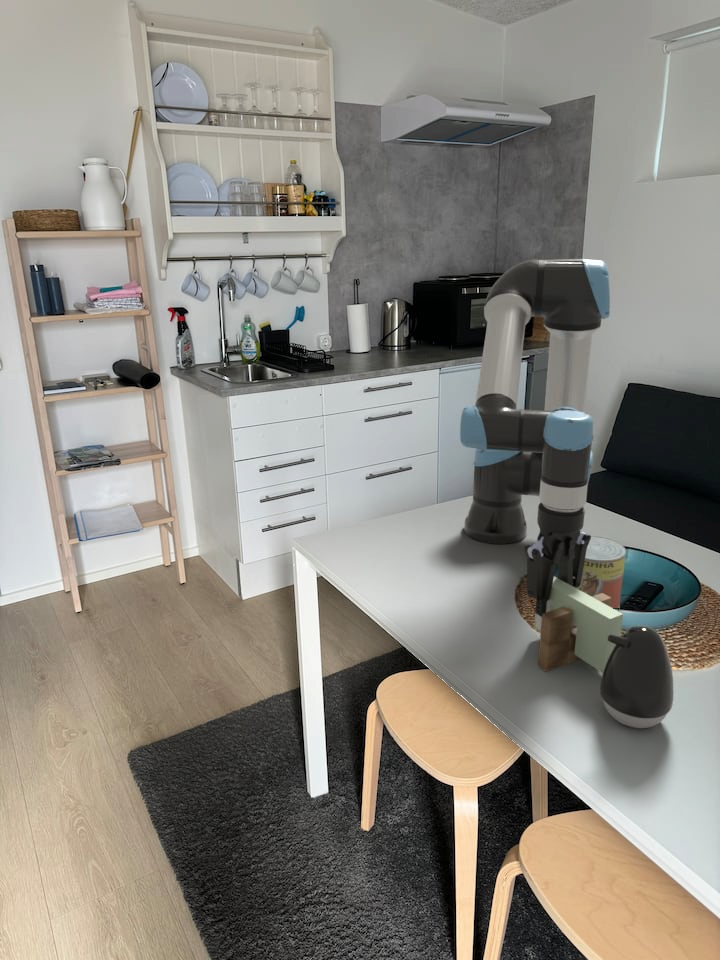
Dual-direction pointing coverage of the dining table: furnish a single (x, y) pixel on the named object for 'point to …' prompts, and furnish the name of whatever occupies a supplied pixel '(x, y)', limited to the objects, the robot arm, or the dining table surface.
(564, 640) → the brown u-shaped block
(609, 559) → the canned food
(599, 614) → the green arch bridge
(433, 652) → the dining table surface
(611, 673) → the pump dispenser
